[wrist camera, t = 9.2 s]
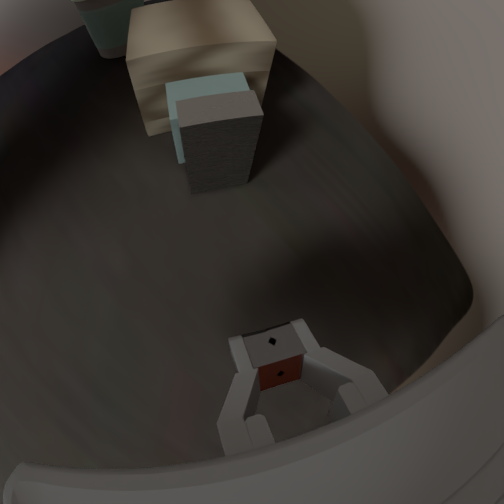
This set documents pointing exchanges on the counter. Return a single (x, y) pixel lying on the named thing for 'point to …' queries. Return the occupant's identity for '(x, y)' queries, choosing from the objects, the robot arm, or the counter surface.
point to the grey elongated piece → (219, 138)
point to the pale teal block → (198, 89)
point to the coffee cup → (108, 23)
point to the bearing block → (194, 50)
